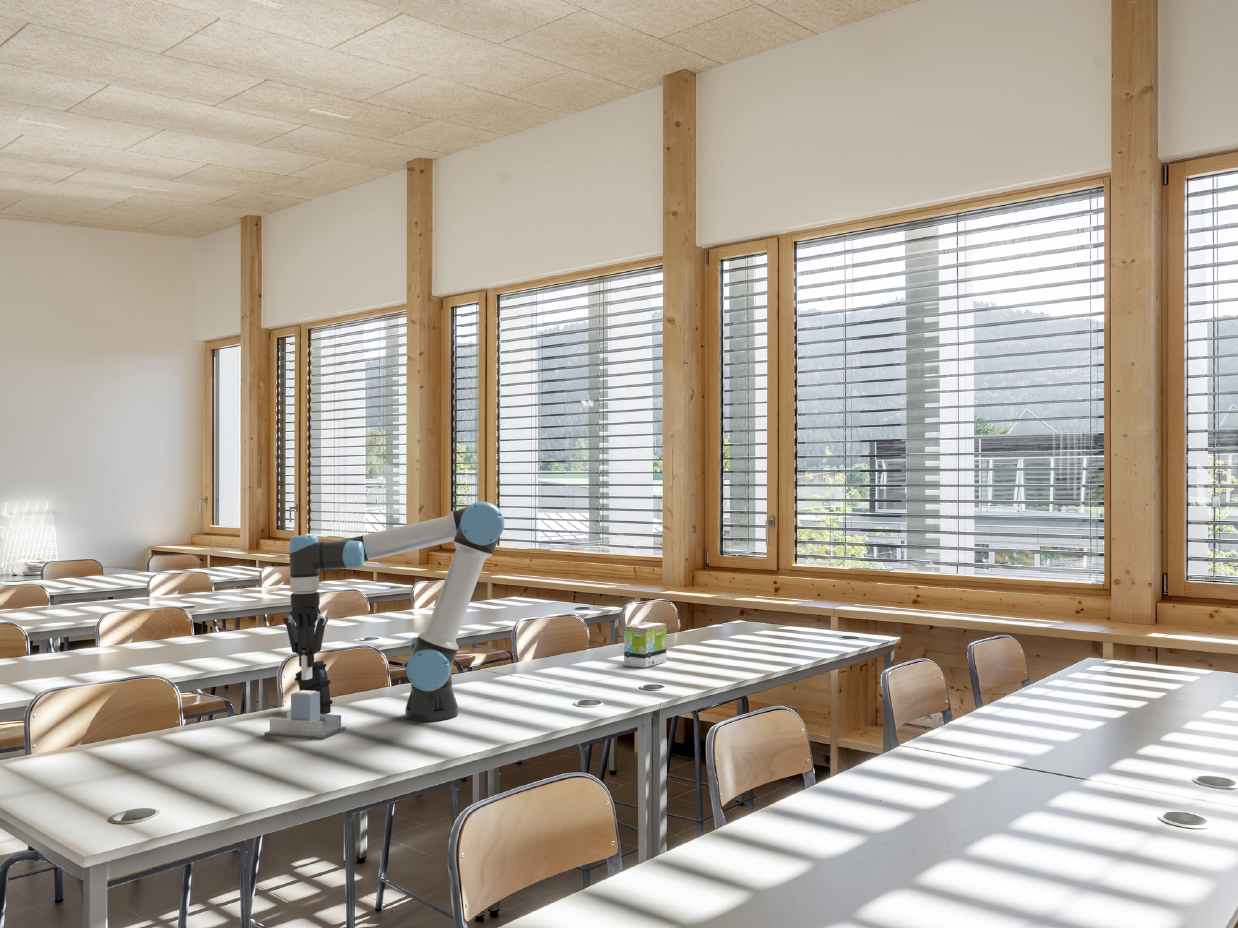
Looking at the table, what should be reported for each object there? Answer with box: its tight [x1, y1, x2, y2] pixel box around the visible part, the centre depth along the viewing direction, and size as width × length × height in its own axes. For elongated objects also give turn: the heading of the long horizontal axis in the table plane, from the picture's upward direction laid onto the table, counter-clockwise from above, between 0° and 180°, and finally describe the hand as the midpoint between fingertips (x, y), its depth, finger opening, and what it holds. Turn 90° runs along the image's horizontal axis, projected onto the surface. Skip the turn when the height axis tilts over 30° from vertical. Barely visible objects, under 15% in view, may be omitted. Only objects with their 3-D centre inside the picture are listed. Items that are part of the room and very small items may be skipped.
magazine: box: [294, 660, 333, 714], centre depth 288 cm, size 4×13×15 cm, turn 54°
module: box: [290, 690, 320, 721], centre depth 262 cm, size 6×4×9 cm
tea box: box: [623, 621, 667, 669], centre depth 358 cm, size 15×10×15 cm, turn 147°
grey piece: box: [264, 711, 347, 741], centre depth 262 cm, size 18×11×4 cm, turn 73°
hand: (307, 678), depth 262 cm, fingers closed
